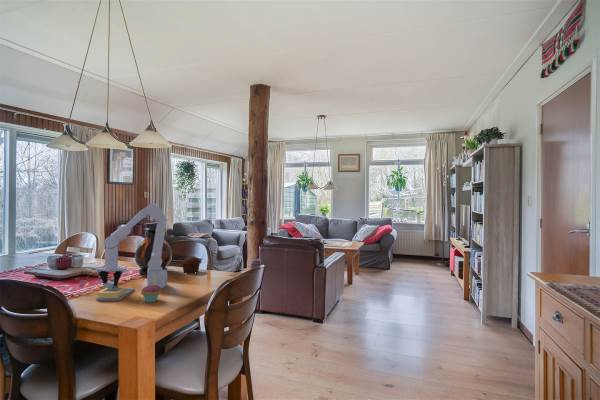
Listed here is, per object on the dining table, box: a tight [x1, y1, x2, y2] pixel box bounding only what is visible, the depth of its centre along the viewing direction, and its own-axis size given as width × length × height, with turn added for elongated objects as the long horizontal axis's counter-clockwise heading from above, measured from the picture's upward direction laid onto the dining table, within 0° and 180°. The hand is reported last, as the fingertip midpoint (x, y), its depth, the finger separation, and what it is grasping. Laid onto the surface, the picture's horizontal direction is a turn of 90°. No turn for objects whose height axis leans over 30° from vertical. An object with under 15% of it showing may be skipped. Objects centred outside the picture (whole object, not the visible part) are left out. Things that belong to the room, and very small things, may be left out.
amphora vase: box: [134, 226, 173, 275], centre depth 200 cm, size 22×22×28 cm
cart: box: [102, 278, 119, 291], centre depth 162 cm, size 6×4×4 cm
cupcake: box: [140, 274, 162, 303], centre depth 146 cm, size 9×8×12 cm
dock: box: [96, 287, 135, 302], centre depth 152 cm, size 10×16×4 cm, turn 5°
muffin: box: [181, 255, 201, 274], centre depth 203 cm, size 12×11×10 cm
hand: (110, 285), depth 162 cm, fingers closed on cart, 4 cm apart
